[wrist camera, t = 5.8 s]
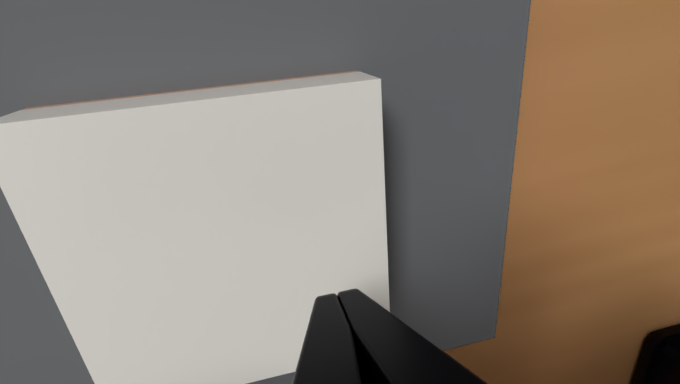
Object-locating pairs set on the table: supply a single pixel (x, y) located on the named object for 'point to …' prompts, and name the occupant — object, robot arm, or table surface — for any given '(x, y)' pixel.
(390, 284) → the mat
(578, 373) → the table surface
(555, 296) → the table surface
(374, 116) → the tile
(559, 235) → the table surface
